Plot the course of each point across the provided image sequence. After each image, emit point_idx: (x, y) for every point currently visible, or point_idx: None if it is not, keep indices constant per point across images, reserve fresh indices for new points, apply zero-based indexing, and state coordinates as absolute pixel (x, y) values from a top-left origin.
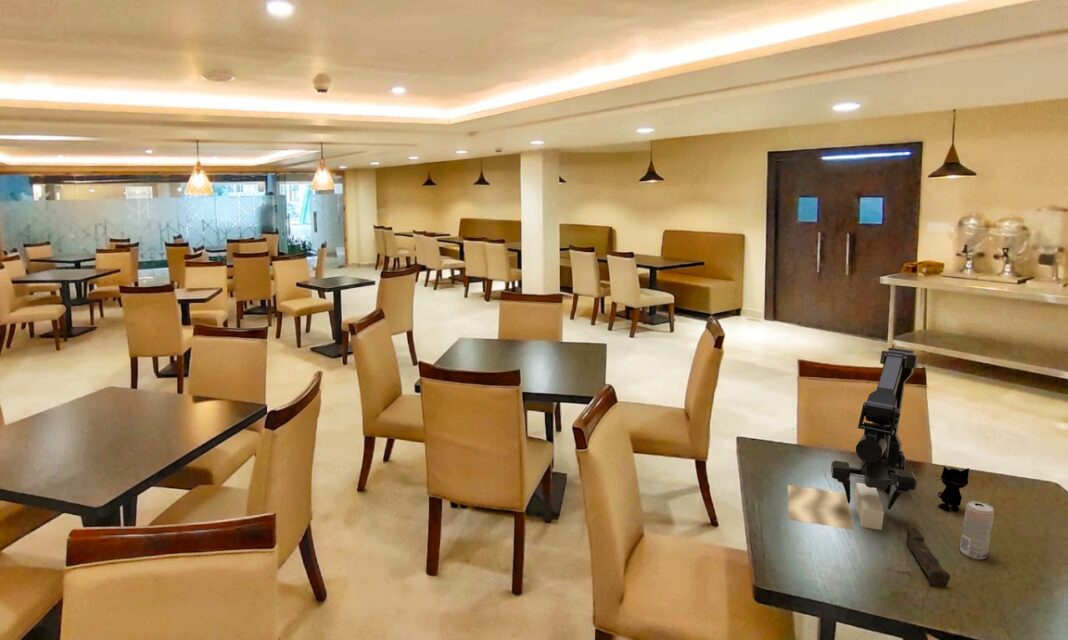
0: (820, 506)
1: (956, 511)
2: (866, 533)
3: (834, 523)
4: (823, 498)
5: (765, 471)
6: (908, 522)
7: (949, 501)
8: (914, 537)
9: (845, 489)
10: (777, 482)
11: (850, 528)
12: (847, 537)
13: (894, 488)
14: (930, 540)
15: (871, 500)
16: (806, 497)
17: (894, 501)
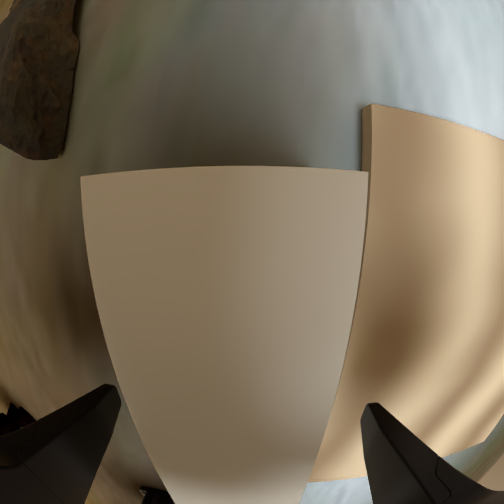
0: (473, 354)
1: (10, 404)
2: (279, 136)
3: (472, 172)
4: (424, 425)
5: (474, 469)
6: (68, 343)
7: (5, 425)
8: (21, 9)
9: (454, 472)
10: (483, 444)
11: (395, 120)
12: (399, 60)
13: (6, 492)
14: (3, 202)
15: (215, 431)
16: (481, 400)
17: (52, 414)
